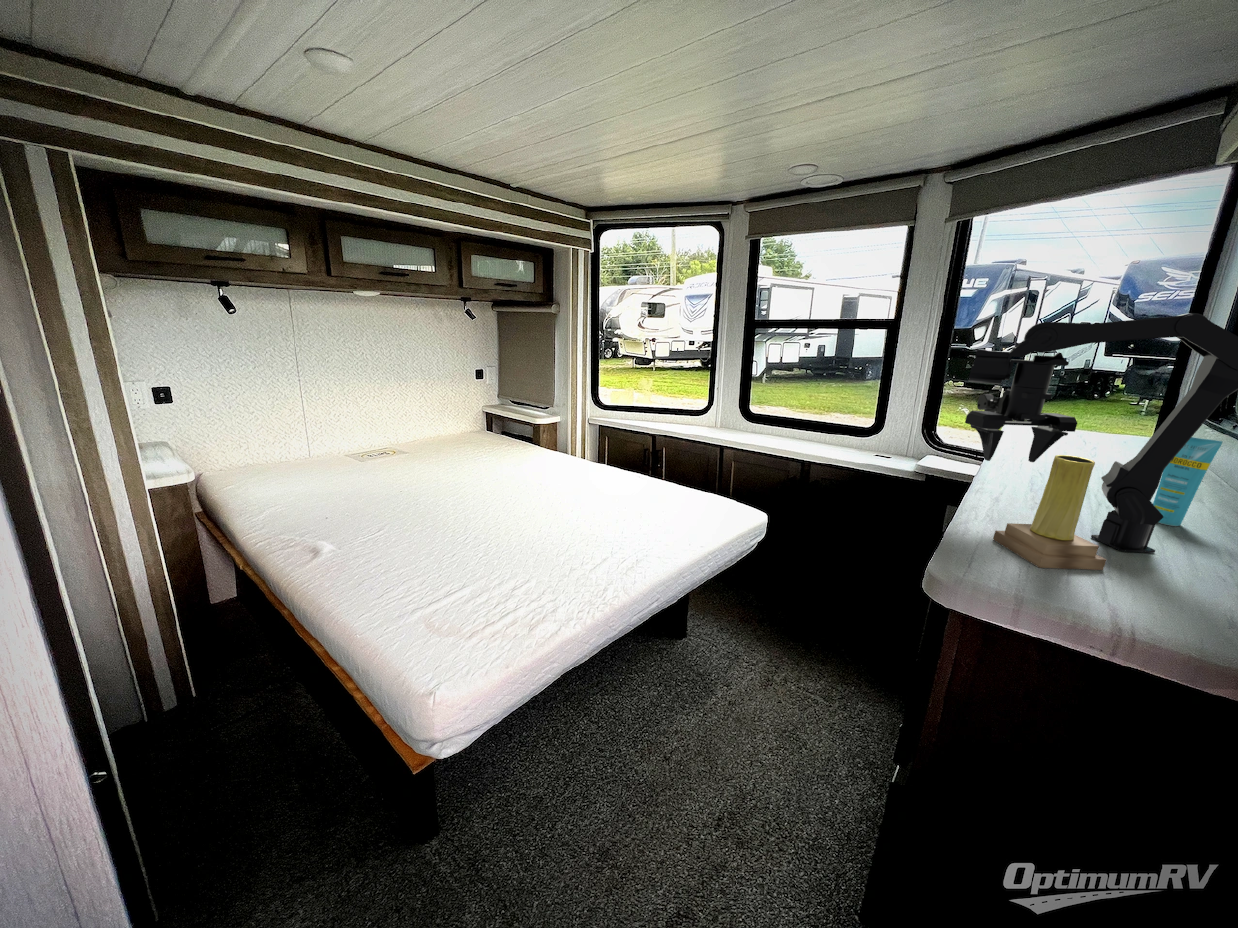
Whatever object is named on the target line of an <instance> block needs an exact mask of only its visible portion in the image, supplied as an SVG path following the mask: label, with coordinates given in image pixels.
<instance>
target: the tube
mask: <svg viewBox="0 0 1238 928" xmlns="http://www.w3.org/2000/svg"><path fill="white" fill-rule="evenodd" d="M1223 442H1224V441H1221V440H1216V439H1209V438H1201V437H1200V438H1199V437H1193V436H1192V437H1191V438H1190V440H1189V441H1188V442H1187V443H1186V444H1185V445H1184V447H1183V448H1182V449H1181V450H1180V451H1179V452H1178V454H1177V455H1176V456H1175V457H1174V458H1173V459H1172V461H1171V462H1170V463H1169V464H1168V465H1167V466H1166V468H1165V469H1164V471H1163V473H1162V476H1161V479H1160V482H1159V485H1158V488H1157V490H1156V492H1155V496H1154V500H1153V502H1152V503H1153V505H1154V506H1155V507H1156V508H1157V509H1158V510H1159V512H1160V513H1161V514H1162V515H1163V518H1162V519H1161V520H1160V521H1159V522H1158V523H1157V524H1161V525H1165V526H1170V527H1171V526H1172V527H1179V526H1181V525H1182V523H1183V521H1184V518H1185V517H1186V515H1187V512H1188V510H1189V509H1190V506H1191V504H1192V502H1193V500H1194V498H1195V495H1196V493H1197V491H1198V490H1199V488H1200V485H1201V484H1202V482H1203V480H1204V478H1205V475H1206V473H1207V471H1208V470H1209V467H1210V466H1211V463H1212V462H1213V460H1214V459H1215V457H1216V455H1217V453H1218V451H1219V450H1220V448H1221V447H1222V444H1223Z"/></svg>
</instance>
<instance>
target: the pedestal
mask: <svg viewBox="0 0 1238 928" xmlns="http://www.w3.org/2000/svg"><path fill="white" fill-rule="evenodd" d="M1031 525H1032V523H1012V522H1011V523H1009V522H1008V523H1006V527H1005V530H995V531H994V534H993V539H994V540H995V541H994V540H993V539H992V540H993V541H994V542H996V541H997V542H998V543H997V542H996V543H997V544H999V543H1000V544H999V545H1000V546H1002V545H1003V546H1002V547H1004V548H1006V549H1007V550H1008V551H1011V552H1012V553H1014V554H1016V555H1017V556H1019V557H1021V558H1022V559H1024V560H1025V561H1027V562H1029V563H1031V564H1032V565H1034V566H1035V567H1037V568H1040V569H1065V570H1066V569H1068V570H1069V569H1070V570H1090V571H1091V570H1097V571H1098V570H1099V571H1104V569H1105V565H1106V563H1107V558H1105V557H1102V556H1100V555H1099V554H1097V553H1098V551H1099V547H1100V546H1099V545H1097V544H1095V543H1093V542H1091V541H1089V540H1087V539H1085V538H1084V537H1080V536H1079V535H1077V534H1076V533H1075V534H1074V539H1073V540H1071V541H1061V540H1055V539H1050V538H1046V537H1043V536H1040V535H1038V534H1036V533H1034V532H1032V531H1031V530H1030V527H1031Z"/></svg>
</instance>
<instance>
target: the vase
mask: <svg viewBox="0 0 1238 928" xmlns="http://www.w3.org/2000/svg"><path fill="white" fill-rule="evenodd" d="M1095 465H1096V462H1095V461H1094V460H1092V459H1090V458H1086V457H1080V456H1076V455H1075V456H1074V455H1067V454H1057V455H1055V456H1054V458H1053V461H1052V465H1051V467H1050V471H1049V475H1048V479H1047V481H1046V484H1045V487H1044V489H1043V492H1042V496H1041V498H1040V501H1039V503H1038V507H1037V509H1036V512H1035V514H1034V518H1033V521H1032V523H1031V524H1032V525H1031V527H1030V530H1031V531H1032V532H1034V533H1036V534H1038V535H1040V536H1043V537H1046V538H1050V539H1055V540H1061V541H1071V540H1073V539H1074V534H1075V535H1076V530H1077V526H1078V523H1079V519H1080V516H1081V513H1082V507H1083V504H1084V501H1085V497H1086V494H1087V489H1088V487H1089V483H1090V480H1091V476H1092V473H1093V469H1094V467H1095Z"/></svg>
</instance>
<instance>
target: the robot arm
mask: <svg viewBox="0 0 1238 928" xmlns="http://www.w3.org/2000/svg"><path fill="white" fill-rule="evenodd" d="M1168 338H1177V339H1178V340H1181V342H1183V343H1184V344H1185V345H1186V346H1188V347H1189V348H1190V349H1192V350H1193V351H1194V352H1195V353H1197V354H1198V355H1200V356H1202V357H1203V358H1202V360H1201V362H1200V364H1199V366H1198V368H1197V370H1196V373H1195V374H1194V375H1195V376H1194V378H1193V381H1192V384H1191V386H1190V389H1189V390H1188V391H1187V392H1186V394H1185V395H1184V397H1183V398H1182V399H1181V400H1180V402H1179V403H1178V404H1177V405H1176V406H1175V407H1174V409H1173V410H1172V411H1171V412H1170V414H1169V415H1168V416H1167V417H1166V419H1165V420H1164V421H1163V422H1162V423H1161V424H1160V426H1159V427H1158V428H1157V429H1156V431H1155V432H1154V433H1153V435H1151V437H1150V438H1149V440H1147V442H1146V443H1145V444H1144V446H1143V447H1142V448H1141V449H1140V450H1139V452H1138V453H1137V454H1136V456H1135V457H1133V458H1132V459H1130V460H1129V461H1127V462H1125V463H1124V464H1123V463H1121V462H1119V461H1117V460H1116V461H1114V462H1113V464H1112V465H1111V468H1110V469H1109V470H1108V472H1107V473H1106V474H1105V475H1103V476H1101V477H1100V478H1101V480H1102V484H1101V491H1102V493H1103V496H1104V497H1105V498H1106V500H1107V502H1108V503H1109V504H1110V505H1111V507H1112V508H1113V510H1110V511H1108V512H1107V515H1106V517H1105V519H1104V520H1103V521H1102V524H1101V525H1102V526H1101V528H1100V531H1099V533H1098V534H1091V539H1094V540H1096V541H1099V542H1100V543H1102V544H1105V545H1107V546H1108V547H1109V546H1110V547H1111V548H1113V549H1116V550H1118V551H1119V552H1125V553H1126V552H1127V553H1152V554H1153V553H1156V549H1155V548H1152V547H1150V546H1149V543H1150V540H1151V537H1152V535H1153V533H1154V529H1155V527H1156V525H1157V524H1159V523H1158V522H1159V521H1160V520H1161V519H1162V518H1163V515H1162V514H1161V513H1160V512H1159V510H1158V509H1157V508H1156V507H1155V506H1154V505H1153V502H1152V499H1153V496H1154V495H1155V494H1156V492H1157V490H1158V487H1159V483H1160V480H1161V477H1162V474H1163V471H1164V469H1165V468H1166V466H1167V465H1168V464H1169V463H1170V462H1171V461H1172V459H1173V458H1174V457H1175V456H1176V455H1177V454H1178V452H1179V451H1180V450H1181V449H1182V448H1183V447H1184V445H1185V444H1186V443H1187V442H1188V441H1189V440H1190V438H1191V437H1193V436H1194V434H1196V433H1197V431H1198V430H1199V429H1200V428H1201V427H1202V426H1203V424H1204V423H1205V422H1206V421H1207V420H1208V419H1209V418H1210V416H1211V415H1212V414H1213V413H1214V412H1215V410H1216V409H1217V408H1218V407H1219V406H1220V405H1221V404H1222V402H1223V401H1224V400H1225V399H1226V398H1227V397H1229V396H1230V395H1232V394H1234V393H1235V392H1237V391H1238V335H1237V334H1234V333H1233V332H1230V331H1229V330H1227V329H1225V328H1223V327H1221V326H1220V325H1218V324H1216V323H1214V322H1213V321H1211V320H1209V319H1208V317H1206V315H1203V314H1201V313H1198V312H1196V313H1195V312H1190V313H1182V314H1179V315H1173V316H1161V317H1151V318H1141V319H1140V318H1139V319H1130V320H1129V319H1128V320H1120V321H1119V320H1118V321H1108V322H1095V323H1084V322H1083V323H1082V322H1063V321H1062V322H1059V321H1043V322H1039V323H1036V324H1033V325H1032V326H1031V327H1030V328H1028V329H1027V331H1026V332H1025V334H1024V337H1023V340H1022V341H1021V342H1020V343H1019V344H1017V345H1016V346H1013V347H1012V349H1011V350H1010V351H1004V350H1002V351H1001V350H999V351H998V350H988V349H980V348H979V349H976V353H975V356H974V357H975V358H974V361H973V364H972V365H971V368H970V373H969V377H968V383H969V382H970V383H981V384H990V385H991V384H993V385H1002V381H1010V377H1011V374H1012V371H1013V367H1014V363H1015V364H1016V367H1015V371H1014V375H1013V379H1012V384H1011V387H1010V389H1005V390H1004V392H1003V395H1002V396H1001V397H995V396H994V395H993V394H991V393H988V394H986V393H984V394H979V396H978V400H977V403H976V404H977V407H976V408H977V409H978V410H971V411H969V412H968V413H967V415H966V417H965V420H964V421H965V422H964V424H967V425H970V427H971V429H974V430H976V432H977V433H978V435H979V437H980V441H981V446H982V451H983V452H982V453H983V458H984V460H985V461H987V462H990V461H991V460H992V458H993V457H994V454H995V453H996V450H997V448H998V446H999V443H1000V441H1001V438H1002V437H1003V434H1004V433H1005V431H1004V430H1000V429H1001V428H1004V426H1028V427H1029V426H1030V429H1031V430H1032V434H1033V438H1032V442H1031V445H1030V450H1029V453H1028V462H1030V463H1035V462H1036V461H1037V460H1038V459H1039V458H1040V457H1041V456H1042V455H1043V454H1044V453H1045V452H1046V451H1048V449H1049V448H1050V447H1052V446H1053V445H1054V444H1056V443H1057V442H1058V441H1059V440H1060V439H1061V438H1063V437H1064V436H1065V437H1066V436H1068V435H1069V433H1068V432H1074V433H1075V432H1076V429H1077V426H1078V421H1077V419H1076V417H1075V416H1070V415H1067V414H1066V415H1065V414H1061V413H1057V412H1042V411H1043V407H1044V405H1045V401H1046V400H1051V399H1052V396H1053V394H1052V393H1048V390H1049V388H1050V383H1051V379H1052V377H1053V372H1054V369H1055V366H1060V367H1061V366H1063V367H1066V366H1069V365H1070V363H1069V361H1068V360H1066V359H1065V357H1064V355H1063V353H1062V352H1057V353H1056V354H1054V355H1038V354H1037V355H1036V354H1035V355H1033V358H1032V359H1013V358H1012V357H1016V358H1023V357H1026V356H1028V355H1030V354H1033V353H1041V354H1043V353H1044V354H1045V353H1048V352H1054V351H1058V350H1059V351H1060V350H1065V349H1068V348H1073V347H1078V346H1082V345H1088V344H1097V343H1098V344H1099V343H1100V344H1101V343H1110V342H1111V343H1113V342H1124V341H1125V342H1127V341H1139V340H1142V341H1143V340H1152V339H1153V340H1154V339H1168Z"/></svg>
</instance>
